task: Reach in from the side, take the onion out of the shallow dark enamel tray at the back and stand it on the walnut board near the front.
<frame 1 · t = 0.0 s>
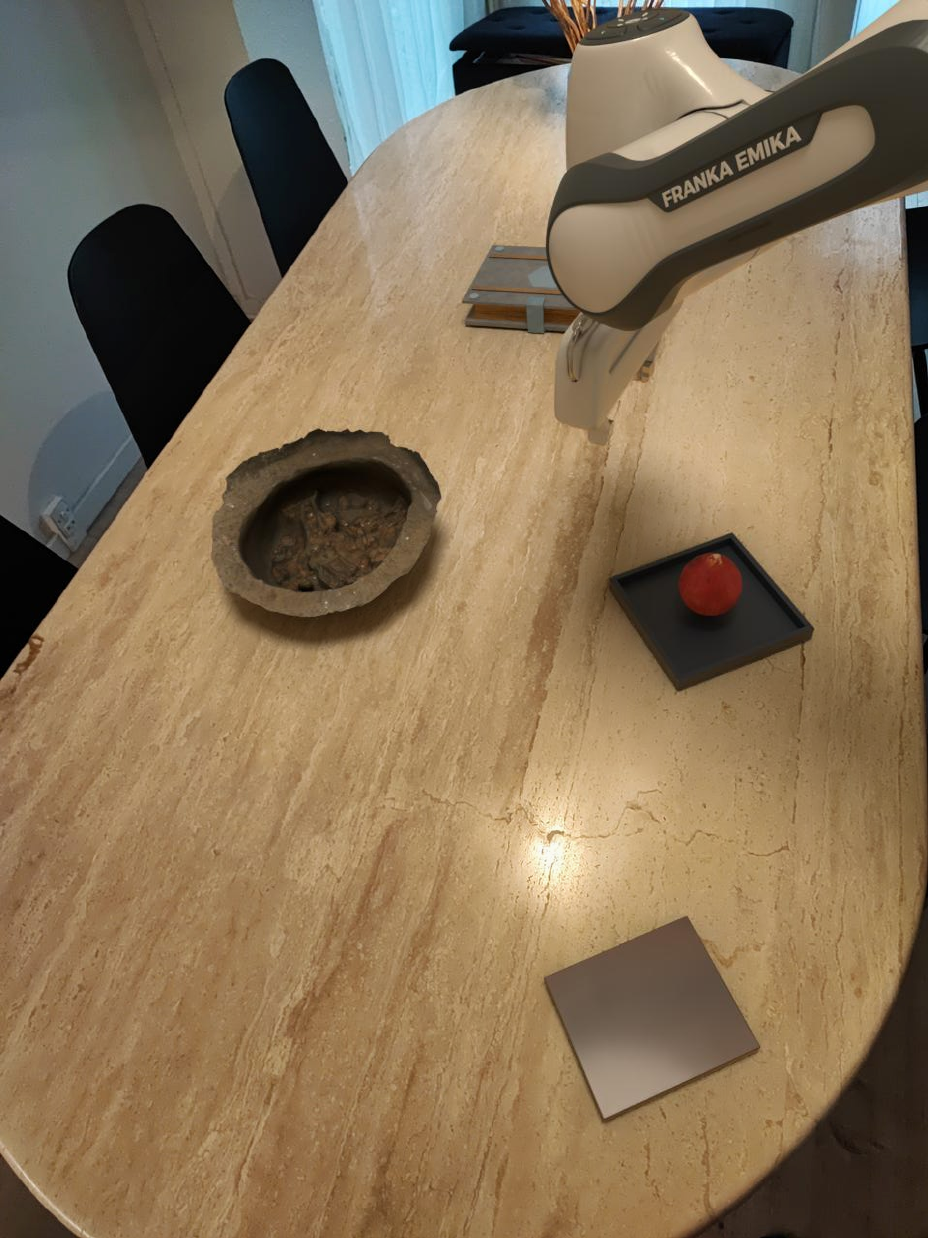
hand: (621, 407, 76), 19 cm above the table, tool pointing down, fingers open, 8 cm apart
onion: (706, 610, 84), resting on tray
board: (647, 1015, 62), on the table
tray: (705, 612, 85), on the table
stone bowl: (338, 562, 95), on the table
book: (550, 302, 123), on the table
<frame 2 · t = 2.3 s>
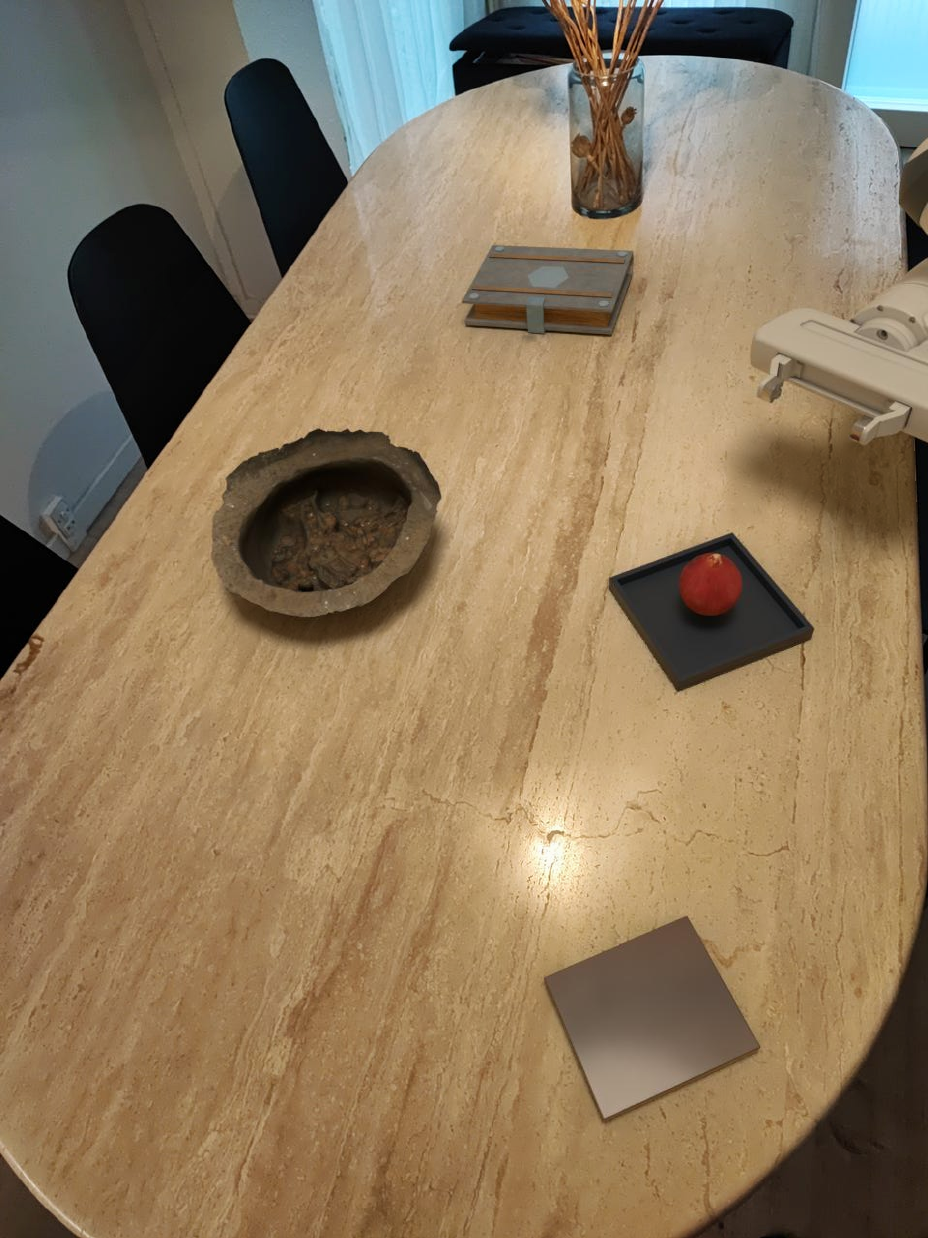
hand: (809, 414, 76), 17 cm above the table, tool horizontal, fingers open, 8 cm apart
nothing on the table moved.
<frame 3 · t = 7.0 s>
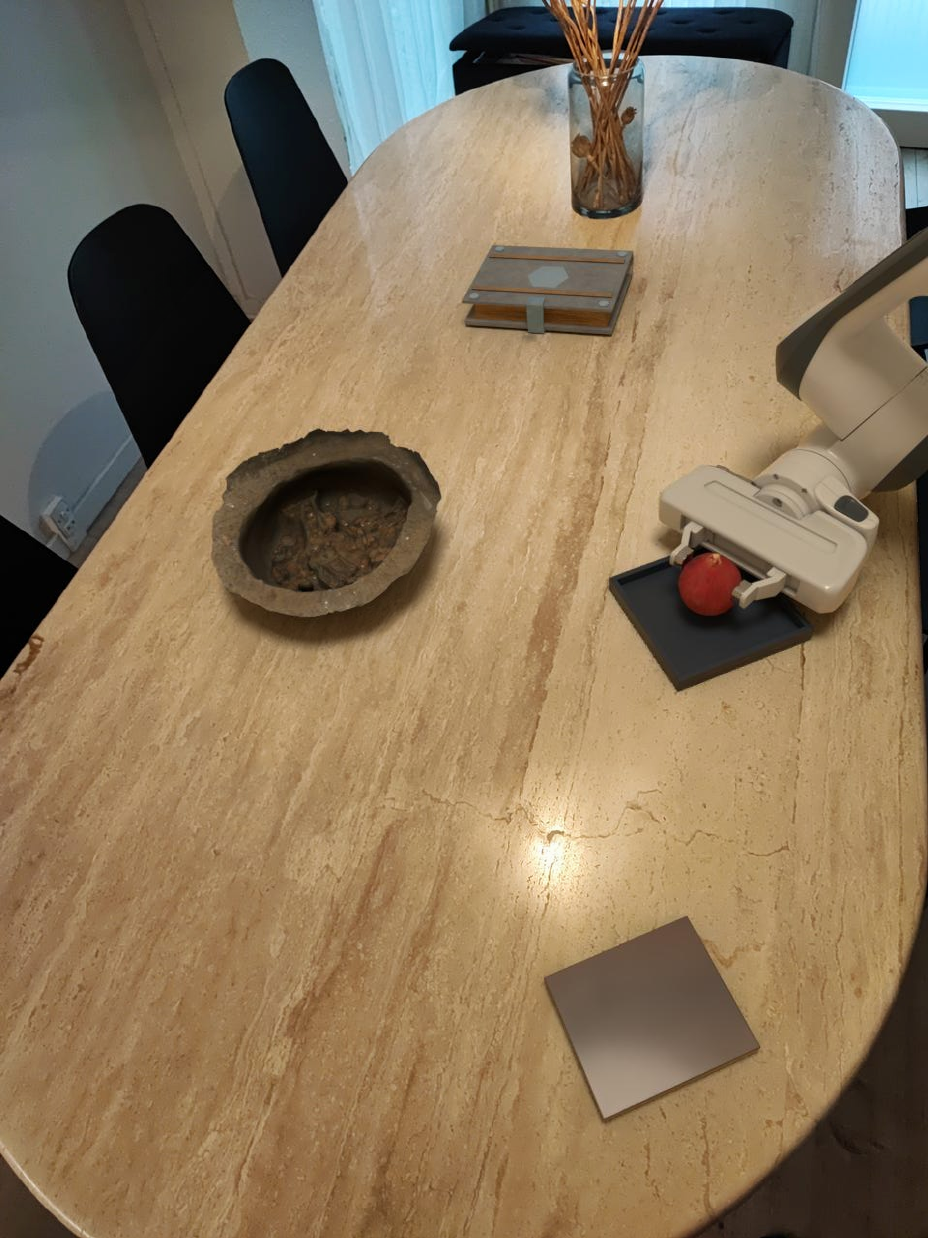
hand: (706, 581, 80), 5 cm above the table, tool horizontal, fingers closed on onion, 6 cm apart
onion: (705, 610, 84), resting on tray, touching gripper
everything else where it was.
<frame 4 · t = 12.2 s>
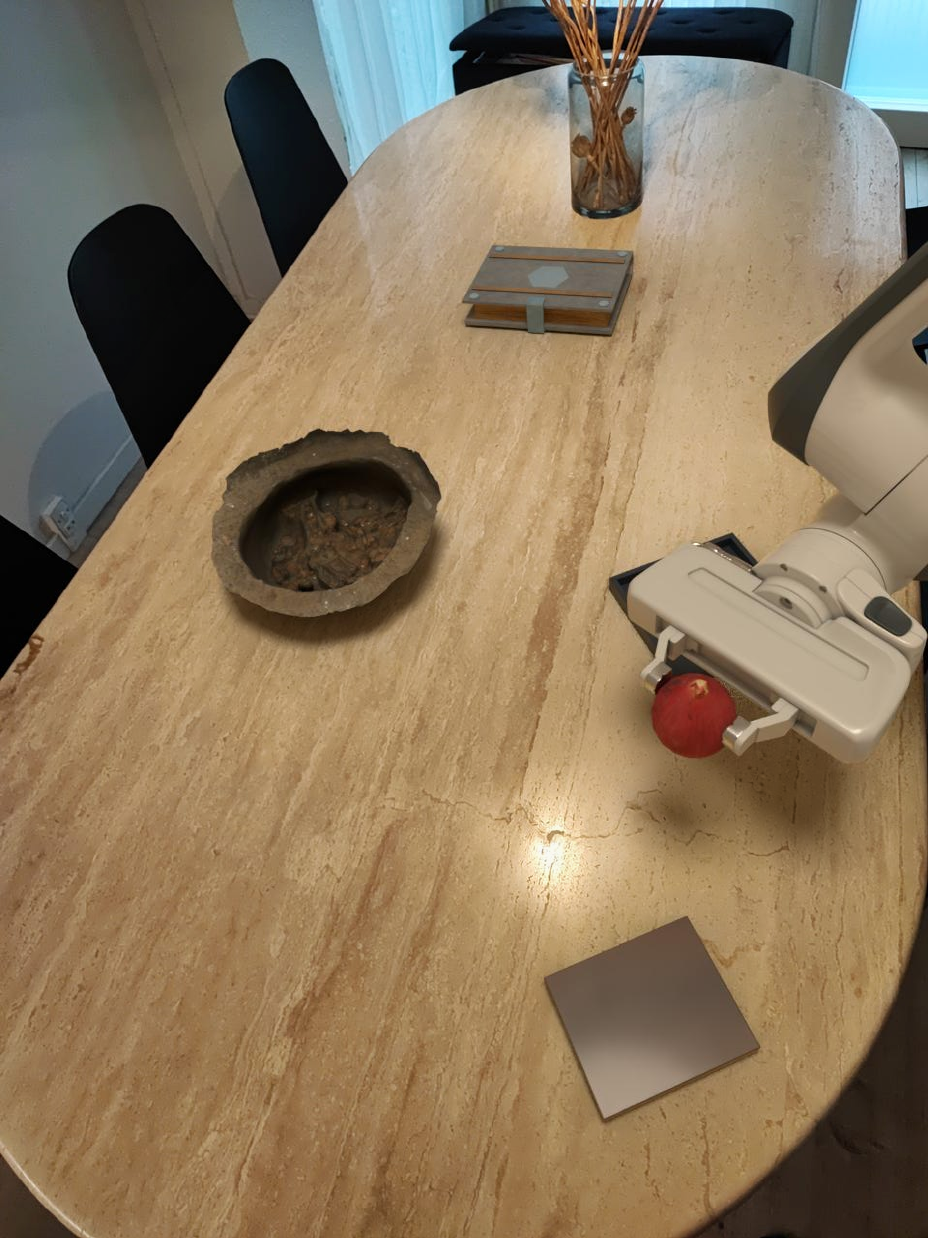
hand: (687, 714, 58), 17 cm above the table, tool horizontal, fingers closed on onion, 6 cm apart
onion: (689, 744, 63), point 12 cm above the table, touching gripper
everything else where it was.
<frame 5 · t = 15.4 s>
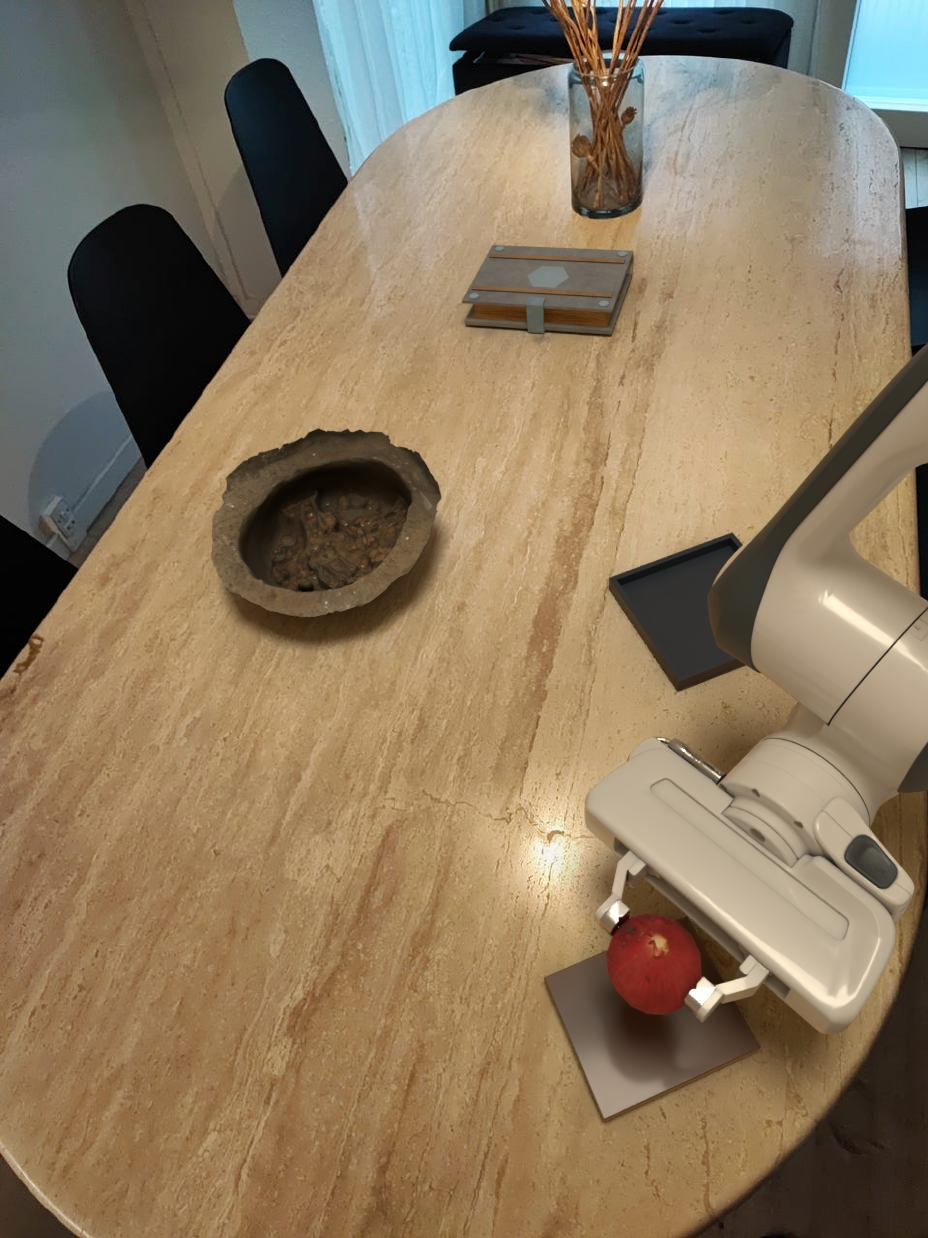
hand: (646, 967, 52), 13 cm above the table, tool horizontal, fingers closed on onion, 6 cm apart
onion: (650, 980, 56), point 8 cm above the table, touching gripper
everything else where it was.
when the fingers open (6 cm above the table, at t = 17.7 s): onion stays where it is, resting on board.
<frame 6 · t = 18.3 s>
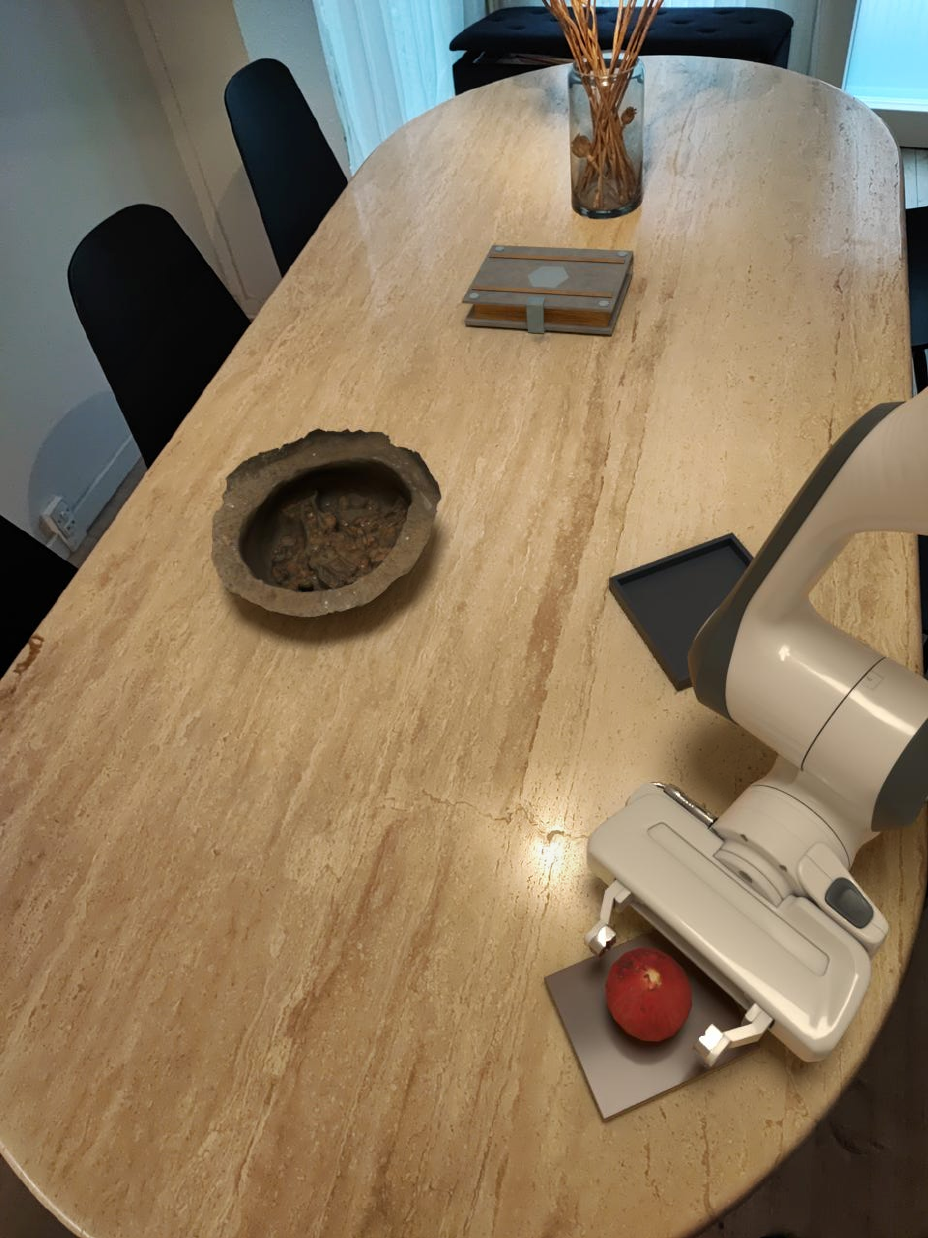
hand: (644, 1000, 57), 7 cm above the table, tool horizontal, fingers open, 8 cm apart
onion: (645, 1008, 62), point 1 cm above the table, touching board
everything else where it was.
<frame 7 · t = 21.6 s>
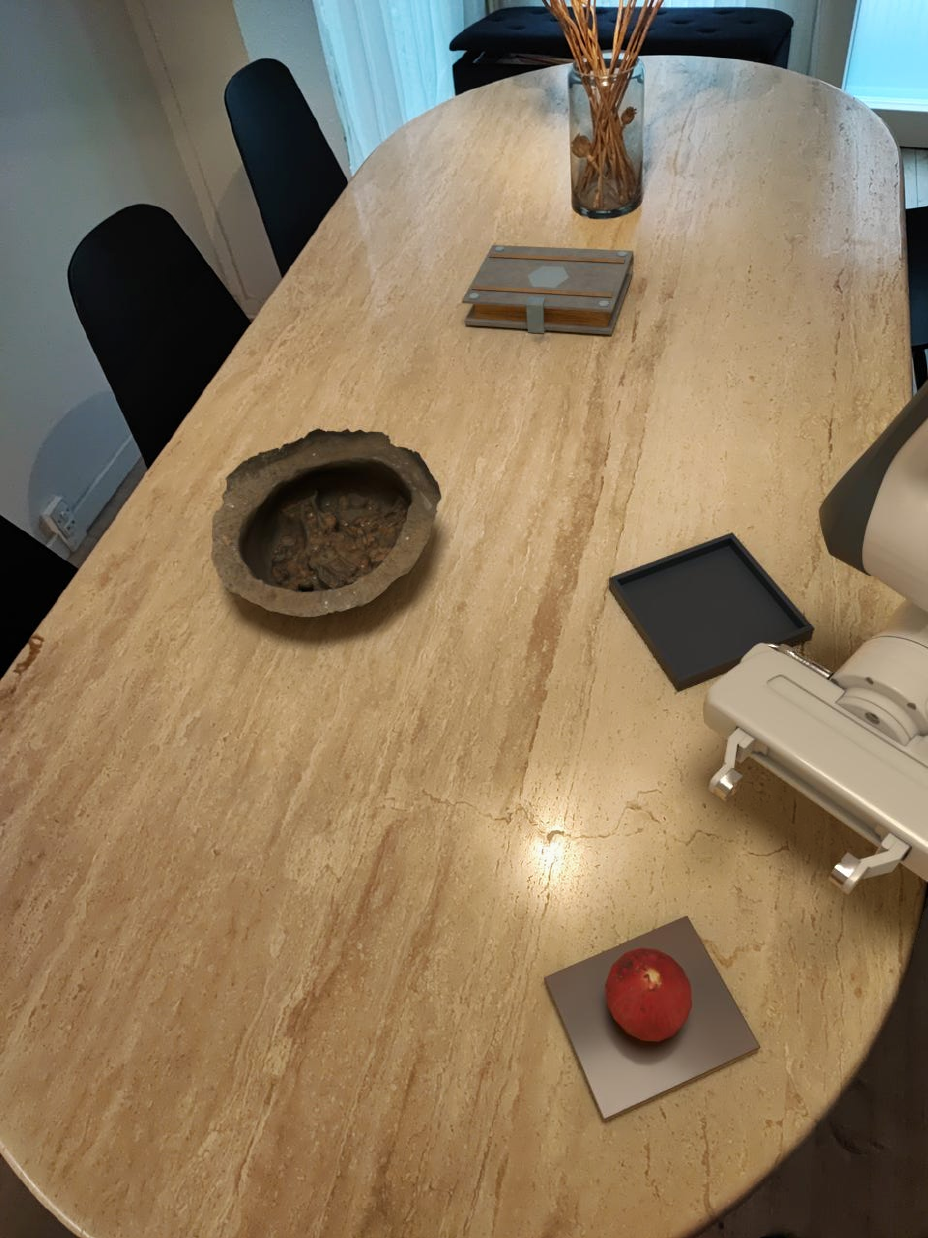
hand: (775, 836, 57), 12 cm above the table, tool horizontal, fingers open, 8 cm apart
nothing on the table moved.
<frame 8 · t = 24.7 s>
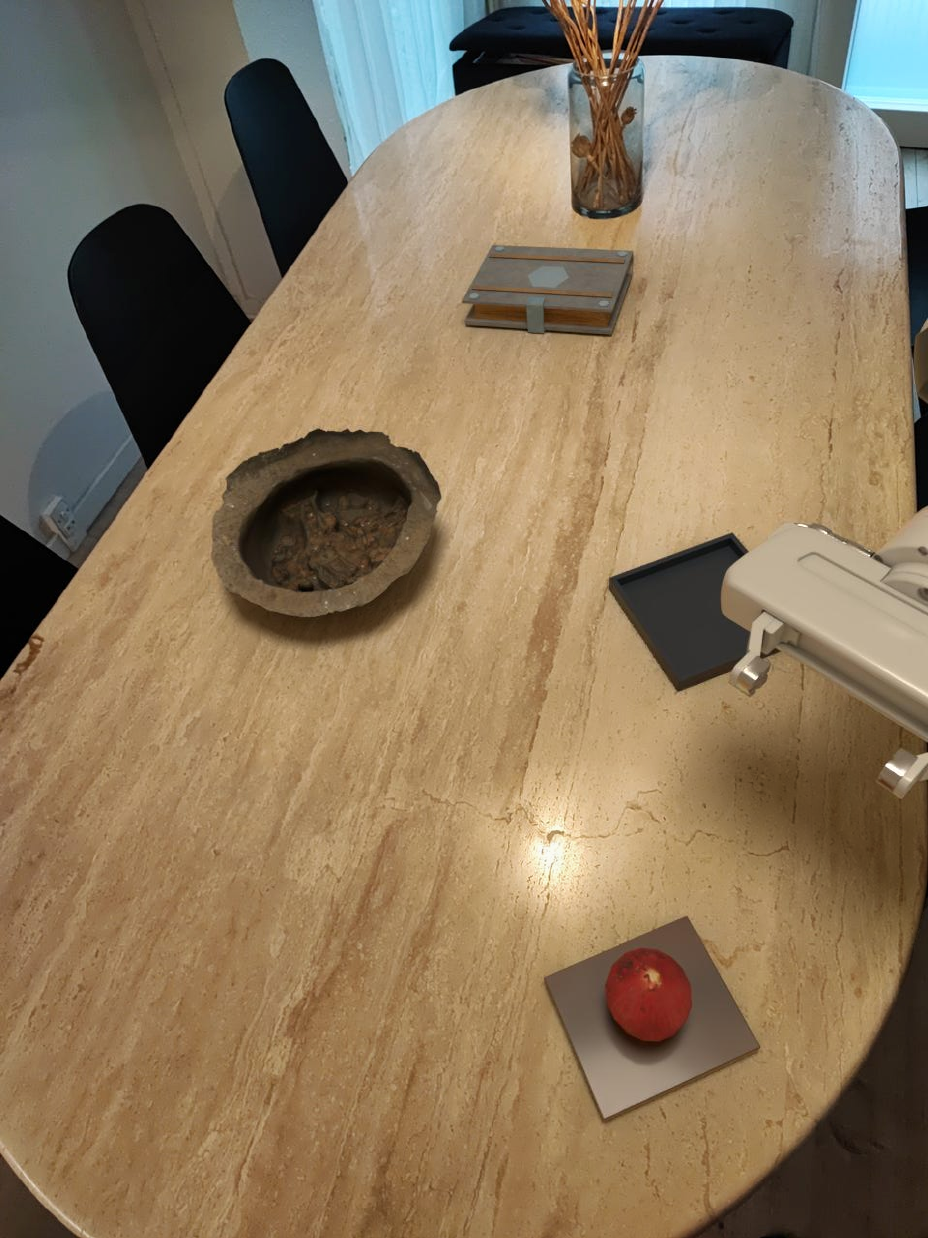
hand: (811, 732, 47), 25 cm above the table, tool horizontal, fingers open, 8 cm apart
nothing on the table moved.
at the end: onion inside the target area on the board (0.2 cm from its centre), point 1.0 cm above the board's base; onion touching board; the gripper is holding nothing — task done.
